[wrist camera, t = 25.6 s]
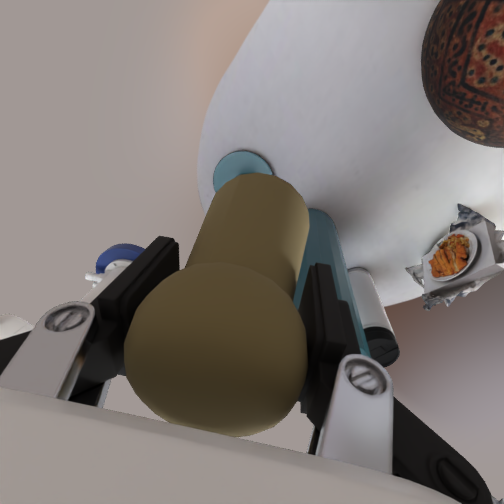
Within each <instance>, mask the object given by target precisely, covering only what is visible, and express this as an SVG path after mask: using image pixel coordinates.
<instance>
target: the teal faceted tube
mask: <svg viewBox="0 0 504 504" xmlns="http://www.w3.org/2000/svg"><path fill="white" fill-rule="evenodd" d="M308 212H309V226H310V227H309V232H308V236H307V241H306V245H305V250H304V254H303V259H302V263H301V268H300V272H299V277H298V281H297V285H296V290H295V294H294V299H293V303H294V305H295V307H296V309H297V311H298V308H299V304H300V301H301V297H302V293H303V289H304V285H305V281H306V278H307V274H308V270H309V267H310V265H313V266H315V263H316V262H317V263H323V264H329V265H331V269H332V273H333V278H334V283H335V288H336V293H337V298H338V299H339V300H345V301H347V302H348V304H349V308H350V312H351V316H352V320H353V323H354V327H355V331H356V335H357V339H358V343H359V347H360V351H361V355H364V356H367V357H369V358H371V356H370V352H369V348H368V344H367V341H366V337H365V333H364V330H363V326H362V322H361V319H360V315H359V311H358V308H357V304H356V300H355V297H354V293H353V289H352V286H351V282H350V278H349V275H348V271H347V267H346V264H345V260H344V256H343V253H342V249H341V245H340V242H339V238H338V234H337V231H336V227H335V225H334V222H333V221H332V219H331V218H330V217H329V216H328V215H327V214H326V213H324V212H322V211H320V210H317V209H308Z"/></svg>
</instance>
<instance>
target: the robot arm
mask: <svg viewBox="0 0 504 504" xmlns="http://www.w3.org/2000/svg"><path fill="white" fill-rule="evenodd" d="M177 271H179V244H178V243H177V242H175V240H174V239H173V238H169V237H163V236H159V237H157V238H156V239H155V240H154V241H153V242H152V243H151V244H150V245H149V246H148V247H147V248H146V249H145V250H144V251H143V252H142V253H141V254H140V255H139V256H138V257H137V258H136V259H135V260H134V261H131V260H127V259H118V260H114V261H113V262H111V263H110V264H109V265H108V266H107V267H106V269H105V273H100V274H96V273H92V272H87V273H86V275H85V279H87V280H91V281H97V282H98V283H97V282H94V283H93V287H94V288H93V289H92V290H91V291H89V292H88V293H87V294H86V295H85V296H84V297H83V298H82V299H81V300H80V301H74V302H68V303H64V304H61V305H58V306H56V307H54V308H52V309H50V310H49V311H48V312H46V313H45V314H44V315H43V316H42V317H41V318H40V320H39V321H38V322H37V324H36V325H35V326H33V325H32V324H30V323H29V322H27V321H25V320H24V319H22V318H20V317H18V316H16V315H12V314H5V315H1V316H0V504H504V499H501V500H500V501H498V500H496V499H495V498H494V497H493V496H492V495H491V493H490V491H489V489H488V487H487V485H486V483H485V481H484V480H483V478H482V477H481V476H480V474H479V473H478V472H477V470H476V469H475V468H474V467H473V466H472V465H471V464H470V463H469V462H468V461H467V460H466V459H465V458H464V457H463V456H461V455H460V454H459V453H458V452H457V451H456V450H455V449H453V448H452V447H451V446H450V445H449V444H448V443H447V442H445V441H444V440H443V439H442V438H441V437H440V436H438V435H437V434H436V433H435V432H434V431H433V430H432V429H430V428H429V427H428V426H427V425H426V424H424V423H423V422H422V421H421V420H420V419H419V418H418V417H417V416H415V415H414V414H413V413H412V412H411V411H410V410H408V409H407V408H406V407H405V406H404V405H403V404H402V403H400V402H399V401H398V400H397V399H396V398H395V397H394V396H393V383H392V380H391V378H390V376H389V374H388V372H387V371H386V370H385V369H384V368H383V366H381V365H380V364H379V363H378V362H376V361H375V360H373V359H371V358H369V357H367V356H364V355H361V351H360V347H359V343H358V339H357V335H356V331H355V327H354V323H353V320H352V316H351V312H350V308H349V304H348V302H347V301H345V300H339V299H338V298H337V293H336V288H335V283H334V278H333V273H332V269H331V265H329V264H323V263H317V262H316V263H315V266H313V265H310V267H309V270H308V274H307V278H306V281H305V285H304V289H303V293H302V297H301V301H300V304H299V308H298V312H299V314H300V317H301V319H302V322H303V324H304V327H305V329H306V340H307V352H308V371H307V375H306V379H305V383H304V386H303V388H302V391H301V393H300V395H299V398H298V400H297V401H299V402H301V413H305V414H307V417H308V418H309V420H310V421H311V422H312V423H313V424H314V426H313V430H312V433H311V437H310V441H309V445H308V449H307V452H306V453H302V452H297V451H293V450H289V449H284V448H280V447H275V446H271V445H267V444H262V443H258V442H253V441H249V440H244V439H240V438H235V437H231V436H227V435H222V434H218V433H213V432H208V431H204V430H199V429H195V428H190V427H186V426H181V425H177V424H172V423H168V422H163V421H158V420H154V419H149V418H145V417H140V416H136V415H131V414H126V413H122V412H117V411H113V410H108V409H103V405H104V402H105V399H106V396H107V393H108V389H109V386H110V383H111V378H114V377H116V376H117V374H118V375H123V376H126V371H125V364H124V342H125V339H126V336H127V333H128V330H129V328H130V325H131V322H132V320H133V317H134V314H135V312H136V309H137V307H138V306H139V305H140V304H141V302H142V301H143V300H144V299H145V297H146V296H147V295H148V294H149V293H150V292H151V291H152V290H153V289H154V288H155V287H156V286H157V285H158V284H160V283H161V282H162V281H163V280H164V279H166V278H167V277H169V276H170V275H172V274H173V273H175V272H177Z"/></svg>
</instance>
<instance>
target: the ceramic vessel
mask: <svg viewBox="0 0 504 504" xmlns="http://www.w3.org/2000/svg"><path fill="white" fill-rule="evenodd" d="M421 67H422V81H423V87H424V90H425V93H426V96H427V99H428V101H429V103H430V105H431V106H432V108H433V110H434V112H435V114H436V115H437V116H438V117H439V119H440V120H441V121H442V122H443V123H444V124H445V125H446V126H447V127H448V128H449V129H450V130H451V131H453V132H454V133H455V134H457V135H459V136H460V137H462V138H464V139H466V140H469V141H471V142H474V143H477V144H480V145H484V146H489V147H496V148H504V0H441V1H440V2H439V4H438V5H437V7H436V9H435V11H434V13H433V15H432V17H431V19H430V22H429V24H428V27H427V30H426V33H425V37H424V40H423V45H422V55H421Z"/></svg>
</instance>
